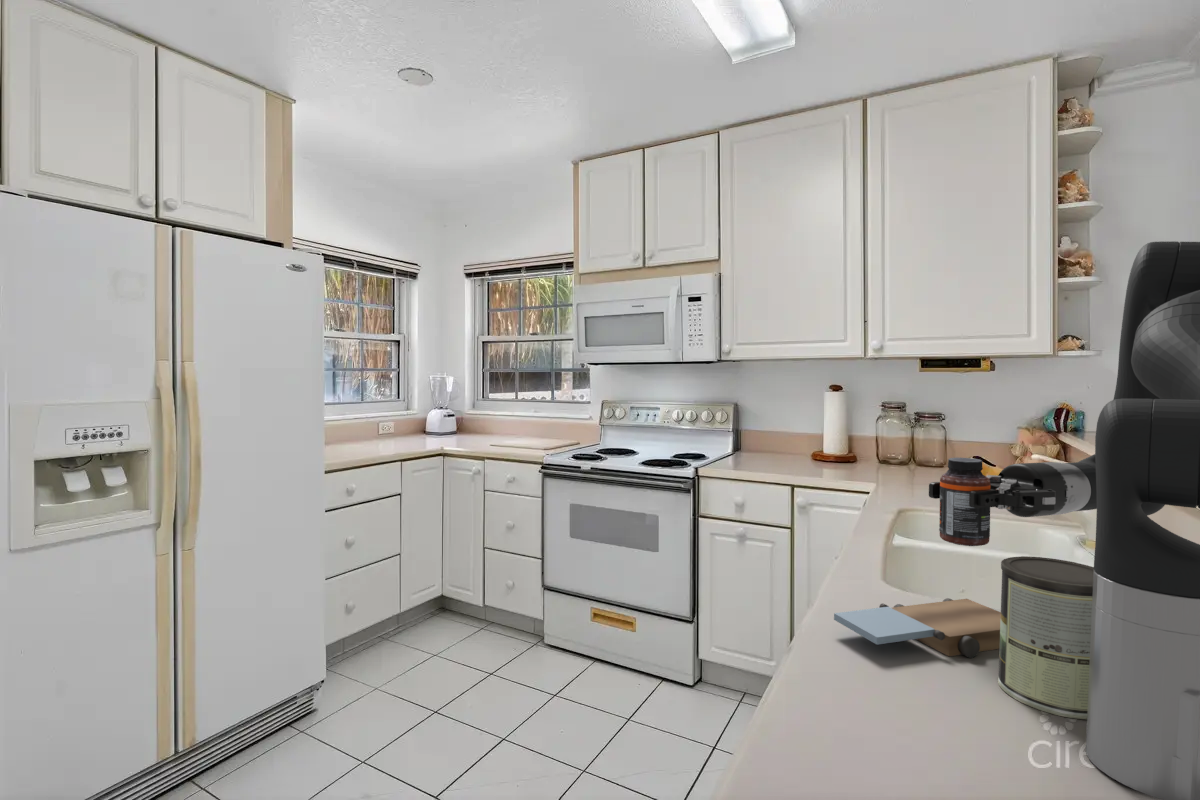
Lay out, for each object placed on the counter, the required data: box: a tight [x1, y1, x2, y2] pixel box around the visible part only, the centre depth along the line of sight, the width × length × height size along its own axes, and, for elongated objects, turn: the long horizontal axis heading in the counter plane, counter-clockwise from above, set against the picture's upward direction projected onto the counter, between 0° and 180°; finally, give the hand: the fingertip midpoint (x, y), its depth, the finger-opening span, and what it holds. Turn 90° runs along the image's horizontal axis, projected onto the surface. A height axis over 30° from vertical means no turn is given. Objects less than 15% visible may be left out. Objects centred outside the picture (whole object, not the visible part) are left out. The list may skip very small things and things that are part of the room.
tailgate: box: [833, 606, 935, 646], centre depth 80 cm, size 8×1×9 cm
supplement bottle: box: [938, 457, 991, 547], centre depth 83 cm, size 6×6×11 cm
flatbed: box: [878, 597, 1001, 659], centre depth 83 cm, size 12×15×3 cm
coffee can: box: [997, 555, 1094, 721], centre depth 67 cm, size 10×10×14 cm
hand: (950, 494), depth 82 cm, fingers closed on supplement bottle, 6 cm apart
